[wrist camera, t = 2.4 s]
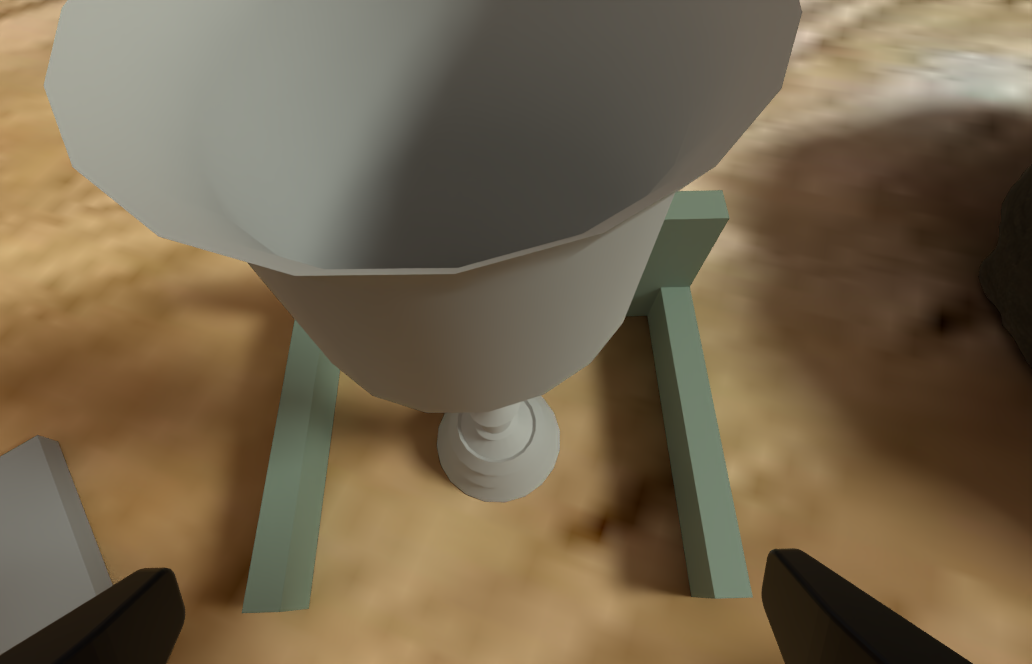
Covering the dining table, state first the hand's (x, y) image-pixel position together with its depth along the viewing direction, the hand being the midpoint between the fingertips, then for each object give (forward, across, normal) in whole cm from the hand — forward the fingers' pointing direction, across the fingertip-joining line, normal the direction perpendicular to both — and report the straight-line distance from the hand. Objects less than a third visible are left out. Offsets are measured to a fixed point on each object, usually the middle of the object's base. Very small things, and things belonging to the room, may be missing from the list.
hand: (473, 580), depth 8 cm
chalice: (+13, 0, +5) cm, 14 cm away
